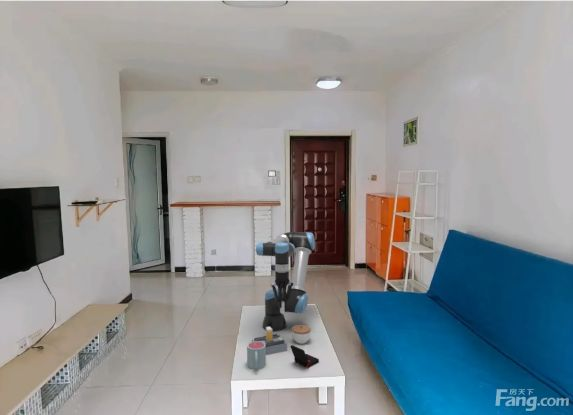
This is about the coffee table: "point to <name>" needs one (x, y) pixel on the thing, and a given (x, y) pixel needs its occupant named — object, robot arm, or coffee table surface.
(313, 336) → the coffee table surface
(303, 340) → the lidded jar
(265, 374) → the coffee table surface
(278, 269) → the robot arm
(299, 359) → the handheld gaming console
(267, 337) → the handle
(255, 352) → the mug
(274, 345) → the switch panel
